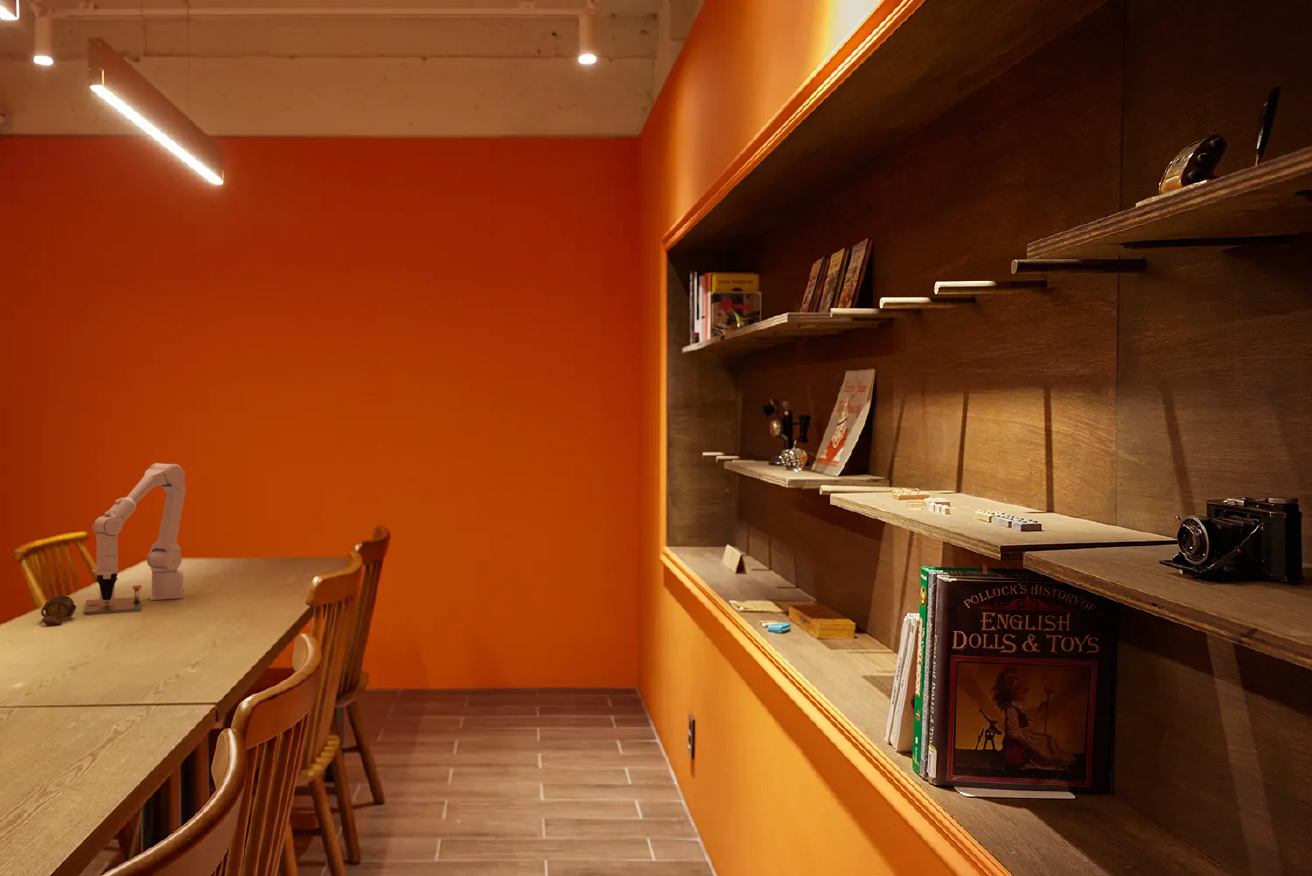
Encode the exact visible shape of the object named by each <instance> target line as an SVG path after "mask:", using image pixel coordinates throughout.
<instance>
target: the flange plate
mask: <svg viewBox="0 0 1312 876" xmlns="http://www.w3.org/2000/svg"><path fill="white" fill-rule="evenodd" d="M140 589H142V585H141V584H138V585H132V590H134V593H133V594H134V596H132V597H129V596H128V597H117V598H116V597H114V601H109V603H108V604H105V601H103V602H100V598H99V599H86V600H85V606H84V611H83V614H84V615H83V616H92V615H105V614H119V613H123V614H124V613H135V612H137V613H138V612H142V603H143V601H141V596H140Z"/></svg>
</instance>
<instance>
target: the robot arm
mask: <svg viewBox="0 0 1312 876" xmlns="http://www.w3.org/2000/svg"><path fill="white" fill-rule="evenodd" d="M185 476H186V472H185V470H184V469H183V468H182V467H181V465H179V464H177V463H171V464H170V463H161V462H155V463H153V464H151V465H150V466H149V467H148V469H146V470H145V471H144V475H143V477H142V478H141V479H140V481H139V482H138V483H137V484H136V485H135V486H134V487H133V489H132V490H131V491H130V492H129V494H128V495H127V496H126V497H120V498H118V499H115V501H114V504H113V505H112V507H111V508H109V509H108V511H107V510H106V511H105V512H104V515H101V516H99V517H98V518H96V519H95V521H94V523H93V524H92V525H91V527H92V531H93V532H94V533H95V539H96V568H95V569H92V570H91V572H92V573H96V574H97V575H96V579H95V580H96V582H97V584H98V585H99V590H100V589H101V594H102V599H103V600H111V597H112V592H113V587H114V584H116V582H117V580H118V572H119V568H118V565H119V564H118V563H119V562H118V561H119V554H118V553H119V547H118V545H119V534H120V533H121V532H122V530H123V527H124V526H123V525H124V524H125V522H126V521H127V520H128V519H129V518H130V517H131V515H132V514H133V513H135V512H136V510H137V503H139V502H140V501H141V500H142V499H143V498H144V497H145V496H146V495H147V494H148V493H149V492H150V491H151V490H152V489H153V488H155V487H159V486H160V487H161V488H162V489H163V491H164V492H165V493H166V495H165V500H164V506H163V511H162V517H161V522H160V527H159V533H158V538H157V540H156V541H155V542H154V543H152V545H151V548H150V551H149V553H148V554H147V556H146V563H147V566H149V567H150V571H151V594H150V595H149V597H150V598H149V599H150V601H157V600H171V599H183V598H184V592H185V587H184V570H183V569H178V568H180V567H181V564H182V561H183V560H182V555H181V553H182V552H181V551H182V548H181V546H180V545H179V544H178V542H177V540H178V535H179V529H180V523H181V518H182V512H183V507H184V502H185V497H186V492H187V491H186V489H187V488H186V483H185Z"/></svg>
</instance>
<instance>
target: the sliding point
mask: <svg viewBox="0 0 1312 876" xmlns="http://www.w3.org/2000/svg"><path fill="white" fill-rule="evenodd" d="M115 584H116V583H115ZM115 584H114V587H113V592H112V597H111V600H103V599H102V594H101V589H100V588H99V599H100V602H103V601H105V604H108V603H109V601H114V598H115V590H116V589H115V586H116V585H115Z"/></svg>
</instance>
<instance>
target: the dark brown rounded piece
mask: <svg viewBox="0 0 1312 876" xmlns="http://www.w3.org/2000/svg"><path fill="white" fill-rule="evenodd" d="M77 607H78V606H77V605H75V602H74V600H73V599H72V598H71V597H70V596H68V595H64V594H58V595H55V596H53V597H52V598H50V600H49V601H46V602H45V603H44V605H43V607H42V608H41V609H40V615H41V616H42V617H43V618H42V619H41V620H42V622H43V624H45V625H47V626H53V627H54V626H60V625H61V624H63V623H64V621H67V620H69V619H72V617H73V616H74V614H75V613H76V610H77Z"/></svg>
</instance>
